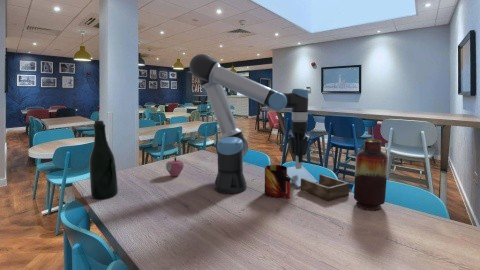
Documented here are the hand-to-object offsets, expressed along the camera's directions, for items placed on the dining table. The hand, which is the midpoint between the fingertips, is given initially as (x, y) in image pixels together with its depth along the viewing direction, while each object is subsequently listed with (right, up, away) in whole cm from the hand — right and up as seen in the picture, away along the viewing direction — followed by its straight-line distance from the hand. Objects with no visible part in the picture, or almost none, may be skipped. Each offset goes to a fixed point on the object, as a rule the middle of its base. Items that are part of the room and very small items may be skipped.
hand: (298, 168), depth 133 cm
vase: (+21, -12, -28) cm, 37 cm away
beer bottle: (-88, -10, -15) cm, 90 cm away
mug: (-12, -10, -16) cm, 22 cm away
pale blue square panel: (0, -4, 0) cm, 4 cm away
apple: (-64, -6, +13) cm, 66 cm away
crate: (+9, -9, -13) cm, 18 cm away
